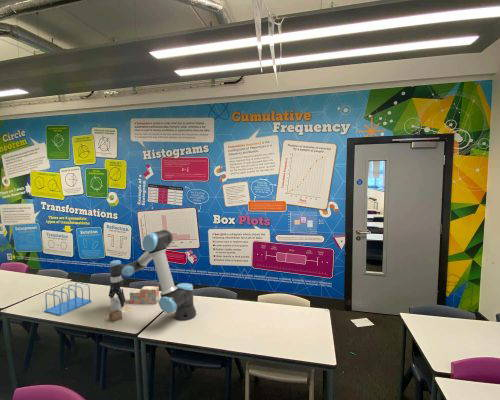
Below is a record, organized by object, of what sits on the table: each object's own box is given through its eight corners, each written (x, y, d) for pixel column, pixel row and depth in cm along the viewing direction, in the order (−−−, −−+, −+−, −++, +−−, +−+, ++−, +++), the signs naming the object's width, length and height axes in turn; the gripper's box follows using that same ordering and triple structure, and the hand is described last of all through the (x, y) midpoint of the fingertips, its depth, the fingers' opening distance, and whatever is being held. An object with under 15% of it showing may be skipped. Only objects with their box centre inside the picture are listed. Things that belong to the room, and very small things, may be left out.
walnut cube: (122, 319, 189) (121, 311, 189) (113, 323, 184) (113, 315, 184) (117, 317, 193) (117, 309, 192) (109, 320, 188) (108, 312, 187)
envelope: (134, 309, 203) (134, 309, 203) (113, 318, 190) (113, 318, 190) (122, 304, 213) (122, 303, 213) (102, 312, 200) (102, 312, 199)
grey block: (123, 308, 205) (122, 298, 204) (115, 311, 200) (115, 301, 199) (119, 306, 208) (118, 296, 208) (111, 309, 203) (110, 299, 203)
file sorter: (60, 317, 193) (58, 296, 192) (44, 312, 200) (43, 293, 199) (91, 302, 217) (90, 283, 215) (76, 298, 223) (75, 280, 222)
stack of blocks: (129, 303, 213) (129, 288, 212) (133, 300, 220) (133, 285, 219) (156, 304, 212) (155, 289, 211) (159, 300, 218) (158, 286, 217)
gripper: (130, 283, 198) (131, 310, 200) (112, 276, 212) (113, 302, 214) (120, 286, 192) (121, 315, 194) (102, 279, 206) (104, 305, 208)
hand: (117, 308), depth 204 cm, fingers open, 12 cm apart
